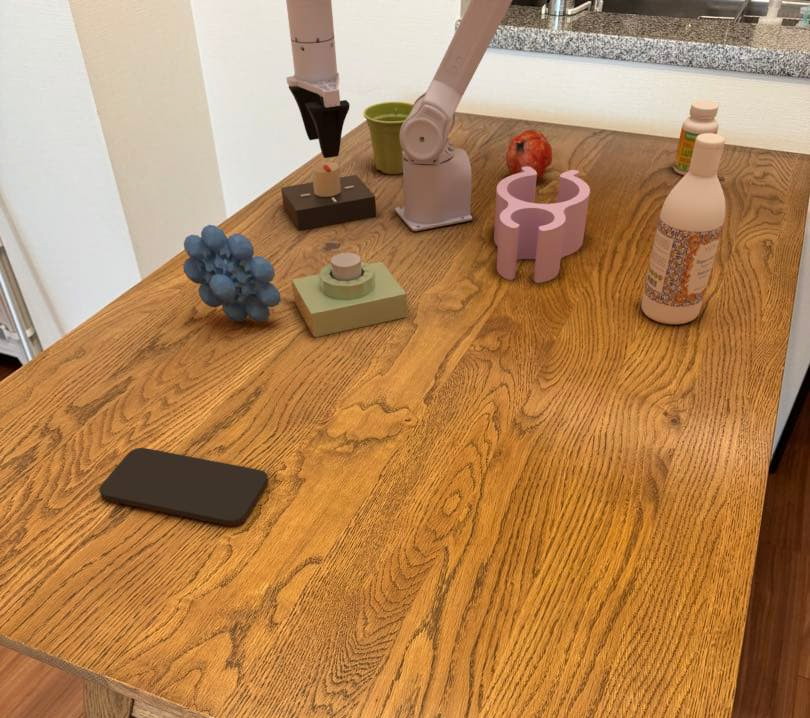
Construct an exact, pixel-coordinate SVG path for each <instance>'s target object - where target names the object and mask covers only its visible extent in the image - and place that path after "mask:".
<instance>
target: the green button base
mask: <svg viewBox="0 0 810 718" xmlns="http://www.w3.org/2000/svg"><path fill="white" fill-rule="evenodd" d="M361 267H362V276H361V277H360V278H358V279H356V280H351V281H338V280H336V279H333V277H332V267H331V262H330V263H328V264H327V265H325V266H324V267H322V268H321V270H320V272H319V273H318V274H313V275H307V276H303V277H302V276H301V277H298V278H294V279H293V278H292V279H291V285H292V292H293V300H294V304H295V306H296V308H297V309H298V311H299V313H300V314H301V316H302V319H303V320H304V322H305V324H306V325H307V327H308V329H309V331H310V333H311V334H312V336H313V338H318V337H324V336H327V335H331V334H337V333H341V332H346V331H350V330H356V329H359V328H364V327H369V326H374V325H377V324H382V323H386V322H391V321H396V320H400V319H404V318H405V319H406V318H408V296H407V295H408V293H407V292H406V291H405V289H404V288H403V287H402V285H401V284H400V283H399V281H398V280H397V279H396V278H395V276H394V275H393V274H392V273H391V271H390V270H389V268H388V267H387V266H386V265H385V263H384V262H383V261H377V262H372V263H367V262H365V261H362V260H361Z"/></svg>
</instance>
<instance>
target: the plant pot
mask: <svg viewBox="0 0 810 718" xmlns="http://www.w3.org/2000/svg"><path fill="white" fill-rule="evenodd" d="M413 105H414V103H410V102H405V101H404V102H403V101H384V102H378V103H374V104H372V105H369V106H368V107H366V108H365V109H364V110H363V111H362V112H363V117H364V118H365V119H366V124H367V127H368V128H369V134H370V139H371V146H372V151H373V156H374V157H373V158H374V163H375V168H376V170H377V171H380V172H382V174H385V175H401V174H403V152H402V151H403V149H402V147H401V144H400V138H399V135H400V129H401V126H402V124H403V123H404V121H405V119H407V118H408V116H409V114H410V112H411V111H412V107H413Z"/></svg>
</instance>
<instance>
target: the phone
mask: <svg viewBox="0 0 810 718" xmlns="http://www.w3.org/2000/svg"><path fill="white" fill-rule="evenodd" d="M268 484H269V479H268V474H267V473H266V471H264V470H261V469H256V468H251V467H246V466H240V465H235V464H231V463H225V462H220V461H215V460H209V459H204V458H200V457H199V458H198V457H194V456H188V455H183V454H179V453H173V452H167V451H162V450H157V449H152V448H146V447H137V448H134V449H131V450H130V451H129V452H128V453H127V454H126V455H125V456H124V457H123V459H122V460H121V461H120V462H119V463H118V464H117V466H116V467H115V468H114V469H113V470H112V472H111V473H110V474H109V475H108V476H107V478H106V479H104V481H103V482H102V484H100V487H99V494H100V496H101V498H102V499H103V500H105V501H107V502H108V501H109V502H114V503H118V504H123V505H127V506H133V507H137V508H141V509H146V510H151V511H156V512H161V513H165V514H166V513H167V514H170V515H175V516H180V517H185V518H190V519H194V520H199V521H204V522H209V523H214V524H219V525H224V526H228V527H234V526H239V525H241V524H242V523H244V522H245V521H246V520H247V518H248V517H249V515H250V513H251V512H252V510H253V509H254V507H255V506H256V504H257V503H258V500H259V499H260V497H262V494H263V492H264V491H265V489H266V487H267V486H268Z"/></svg>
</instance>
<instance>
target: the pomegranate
mask: <svg viewBox="0 0 810 718" xmlns="http://www.w3.org/2000/svg"><path fill="white" fill-rule="evenodd" d="M505 160H506V162H505V163H506V167H507V169H508V172H509V173H510V175H514V174H517V173H521V170H522V167H526V166H529V167H531V168H533V169H534V170H535V171H536V172H537V179H536V182H537V181H538V180H540V179H541V178H543V177H544V175H545V174H546V170H547V168H548V167H550V166H551V165H552V162H553V147H552V145H551V143H550V142H549V141H548V139H547V138H546V137H545V135H544V133H543V132H542V131H540V130H536V129H528V130H524V131H523V132H522V133H521V134H518V135H517V136H514V137H513V138H512V139H511V140H510V143H509V145H508V150H507V152H506V155H505Z"/></svg>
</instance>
